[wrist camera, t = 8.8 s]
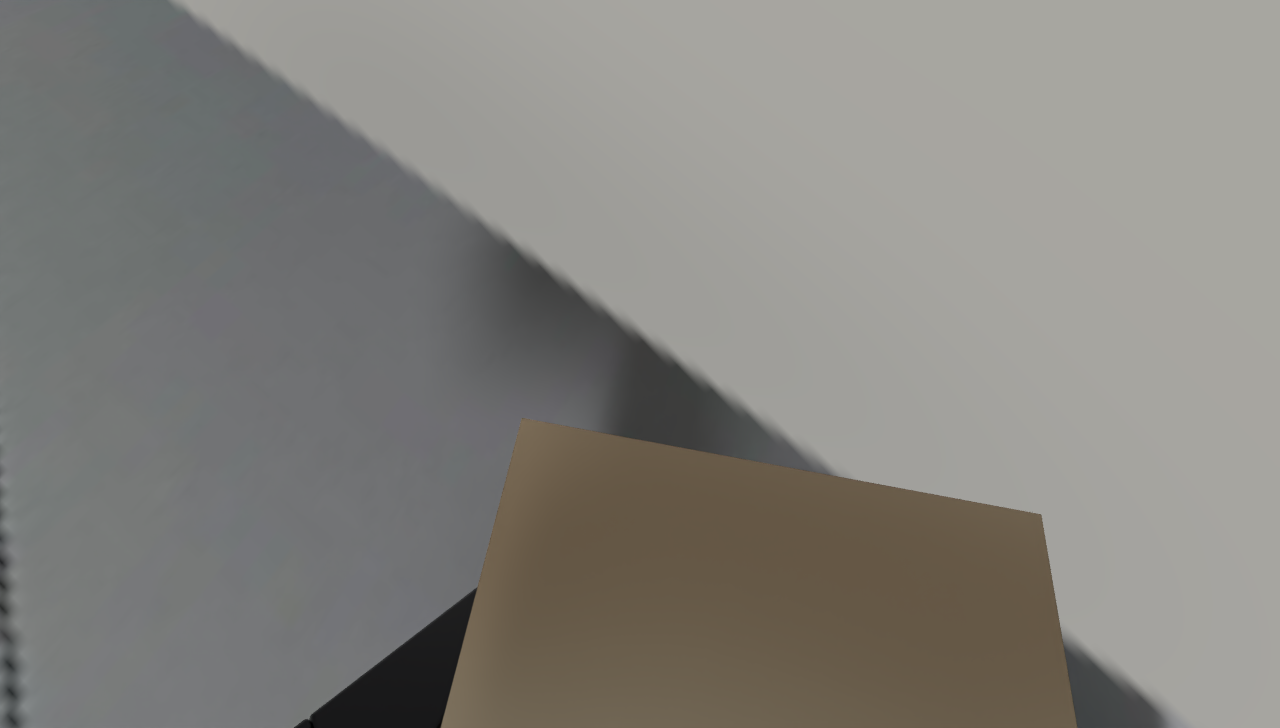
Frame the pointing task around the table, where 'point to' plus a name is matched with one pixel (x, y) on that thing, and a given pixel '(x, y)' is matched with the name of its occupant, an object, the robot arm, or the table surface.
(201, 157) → the table surface
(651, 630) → the tall ash block
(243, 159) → the table surface
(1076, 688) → the table surface
